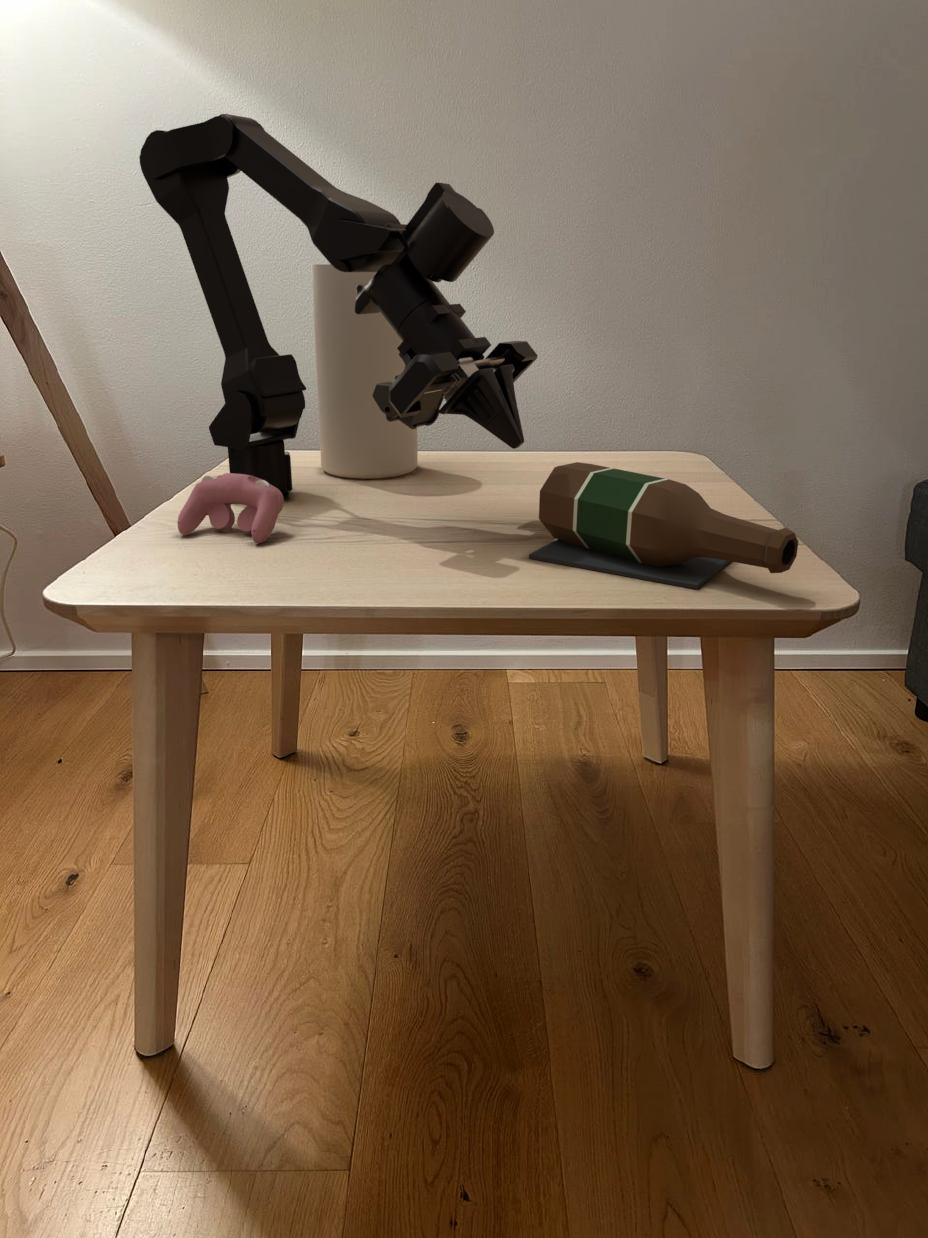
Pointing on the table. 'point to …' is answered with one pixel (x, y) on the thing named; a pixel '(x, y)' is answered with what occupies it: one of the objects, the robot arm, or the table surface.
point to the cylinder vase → (356, 382)
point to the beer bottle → (653, 520)
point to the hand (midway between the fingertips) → (519, 445)
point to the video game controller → (233, 489)
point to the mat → (631, 565)
